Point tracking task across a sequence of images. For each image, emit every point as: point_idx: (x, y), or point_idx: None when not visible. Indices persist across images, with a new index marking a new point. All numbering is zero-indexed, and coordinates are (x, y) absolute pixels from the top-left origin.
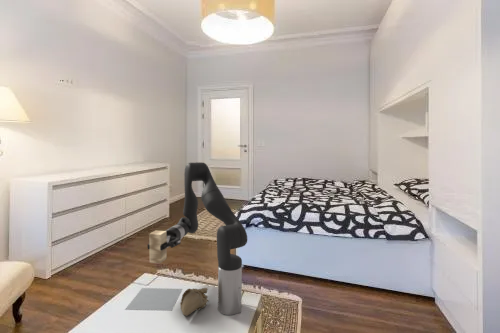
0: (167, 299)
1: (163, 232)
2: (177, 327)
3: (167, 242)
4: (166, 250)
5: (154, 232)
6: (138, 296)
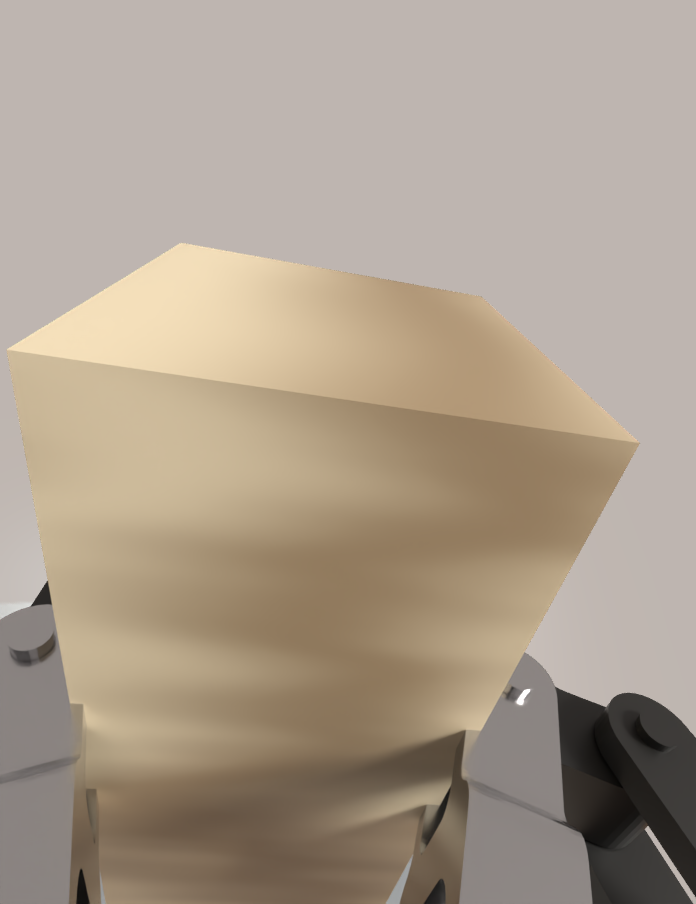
0: (103, 894)
1: (140, 289)
2: (8, 609)
3: (27, 617)
4: (99, 854)
5: (446, 321)
6: (394, 888)
